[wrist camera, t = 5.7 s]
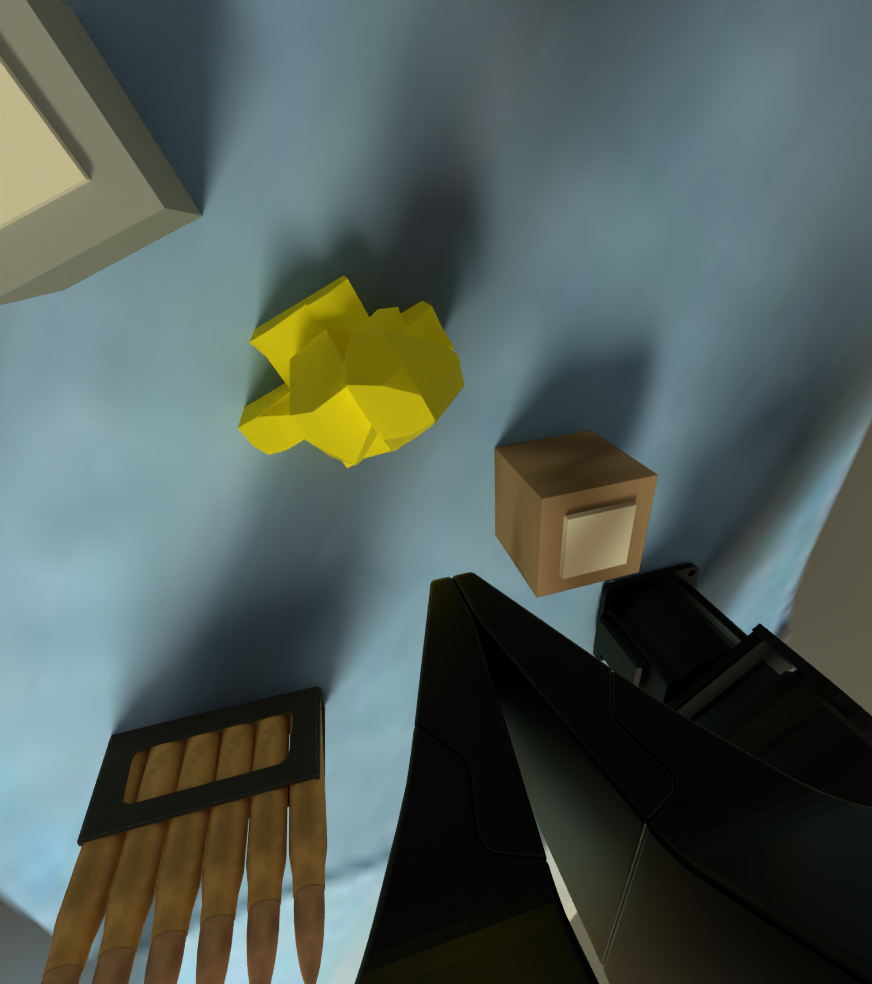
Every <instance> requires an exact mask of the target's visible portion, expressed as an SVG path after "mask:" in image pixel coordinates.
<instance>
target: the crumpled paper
mask: <svg viewBox="0 0 872 984" xmlns="http://www.w3.org/2000/svg"><path fill="white" fill-rule="evenodd" d="M250 343H251V344H252V345H253V346H254V347H255V348H257V349H258V350H259V351H260V352H261V353H262V354H263V355H265V356H266V357H267V358H268V360H269V361H270V362H271V364H272V365H273V367H274V368H275V369H276V371H277V372H278V373H279V375H280V376H281V378H282V379H283V380H284V382H285V383H284V384H283V385H281V386H279V387H278V388H276V389H274V390H273V391H271V392H269V393H268V394H266V395H264V396H263V397H261V398H259V399H258V400H256V401H254V402H253V403H251V404H249V405H248V406H246V407H244V410H243V413H242V416H241V420H240V423H239V426H238V429H239V430H240V431H241V432H242V433H243V435H244V436H245V437H246V438H247V439H248V440H249V442H250V443H251V444H252V445H253V446H254V447H256V448H258V449H259V450H261V451H263V452H264V453H266V454H268V455H270V454H273V453H277V452H281V451H285V450H287V449H289V448H291V447H292V446H294V445H296V444H297V443H299V442H301V441H302V440H304V439H305V440H306V441H308V442H310V443H311V444H313V445H314V446H316V447H318V448H319V449H321V450H322V451H323V452H325V453H326V454H328V455H329V456H331V457H333V458H336V459H339V460H341V461H342V462H343V463H344V464H345V466H346V467H347V468H349V467H350V466H352V465H356V464H358V463H360V462H361V461H362V459H364V458H367V457H371V456H375V455H378V454H382V453H386V452H390V451H394V450H397V449H398V448H399V447H401V446H403V445H404V444H406V443H408V442H409V441H411V440H413V439H414V438H416V437H417V436H419V435H420V434H421V433H423V432H424V431H425V430H427V429H428V428H430V427H431V426H432V425H434V424H435V422H436V421H437V420H438V419H439V417H440V416H441V415H442V414H443V412H444V411H445V410H446V408H447V407H448V406H449V405H450V403H451V402H452V401H453V400H454V398H455V397H456V396H457V394H458V393H459V392H460V391H461V389H462V388H463V387H464V381H463V377H462V372H461V367H460V363H459V358H458V354H456V353H455V352H454V351H452V350H453V349H455V348H454V347H453V345H452V343H451V342H450V340H449V338H448V336H447V335H446V333H445V331H444V330H443V328H442V326H441V324H440V322H439V320H438V318H437V316H436V313H435V311H434V309H433V307H432V306H431V305H430V304H428V303H426V302H424V301H421V302H419V303H417V304H416V305H414V306H412V307H411V308H409V309H407V310H406V311H404V312H402V313H400V311H399V308H398V307H394V308H385V309H378V310H377V311H376V312H375V313H374V314H373V315H372V316H371V317H369V316H368V314H367V312H366V310H365V308H364V307H363V305H362V303H361V301H360V300H359V298H358V296H357V294H356V292H355V291H354V289H353V287H352V285H351V283H350V282H349V280H348V278H347V277H345V276H344V275H343V276H342V277H340V278H339V279H337V280H335V281H334V282H332V283H330V284H329V285H327V286H325V287H324V288H322V289H320V290H319V291H317V292H315V293H314V294H312V295H310V296H309V297H307V298H305V299H304V300H302V301H301V302H299V303H297V304H296V305H294V306H292V307H291V308H289V309H287V310H286V311H284V312H282V313H281V314H279V315H277V316H276V317H274V318H272V319H271V320H269V321H267V322H266V323H264V324H263V325H261V326H259V327H258V328H256V329H255V331H254V333H253V335H252V338H251V340H250Z"/></svg>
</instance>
